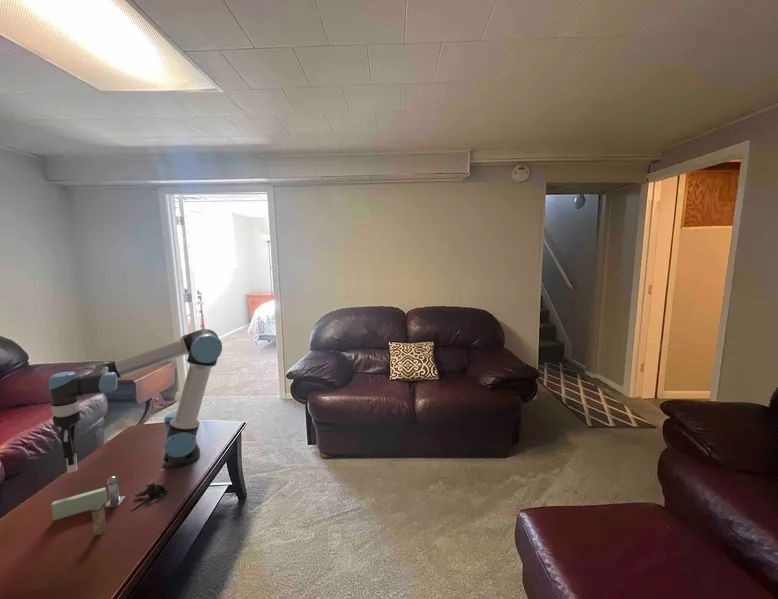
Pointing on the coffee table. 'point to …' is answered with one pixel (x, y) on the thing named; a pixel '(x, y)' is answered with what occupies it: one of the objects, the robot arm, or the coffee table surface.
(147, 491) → the stuffed animal
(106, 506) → the hinge post
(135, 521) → the coffee table surface
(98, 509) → the block
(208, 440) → the coffee table surface
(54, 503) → the gate
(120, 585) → the coffee table surface
